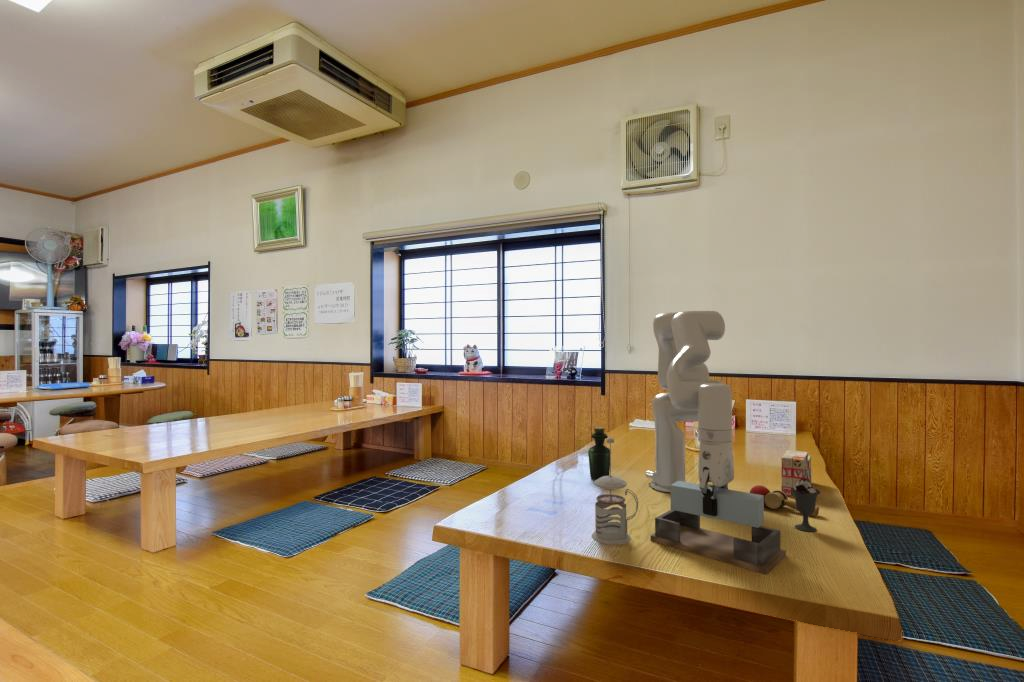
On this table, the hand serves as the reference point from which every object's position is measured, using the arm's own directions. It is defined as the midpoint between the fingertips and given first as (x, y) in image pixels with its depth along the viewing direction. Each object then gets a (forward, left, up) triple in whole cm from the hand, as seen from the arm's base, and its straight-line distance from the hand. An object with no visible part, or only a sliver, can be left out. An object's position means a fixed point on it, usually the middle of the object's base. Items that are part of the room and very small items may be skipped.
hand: (715, 510), depth 122 cm
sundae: (+12, +28, -9) cm, 32 cm away
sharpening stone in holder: (0, 0, -9) cm, 9 cm away
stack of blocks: (0, +65, -9) cm, 66 cm away
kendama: (+3, +40, -9) cm, 41 cm away
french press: (-21, -11, -9) cm, 25 cm away
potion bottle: (-55, +32, -9) cm, 64 cm away
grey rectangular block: (0, 0, -1) cm, 1 cm away
